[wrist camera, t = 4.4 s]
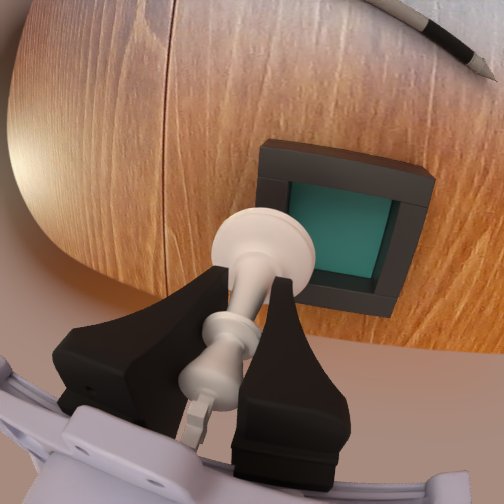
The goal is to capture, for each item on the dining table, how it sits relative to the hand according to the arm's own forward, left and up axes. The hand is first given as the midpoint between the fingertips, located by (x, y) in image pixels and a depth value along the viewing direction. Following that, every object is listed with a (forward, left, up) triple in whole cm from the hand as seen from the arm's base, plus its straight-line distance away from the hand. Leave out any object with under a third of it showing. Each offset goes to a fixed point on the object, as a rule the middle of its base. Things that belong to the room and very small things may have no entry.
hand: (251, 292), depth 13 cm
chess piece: (0, 0, -3) cm, 3 cm away
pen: (+14, -5, -10) cm, 18 cm away
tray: (-1, -4, -10) cm, 11 cm away
